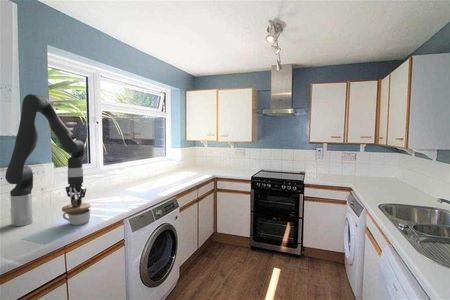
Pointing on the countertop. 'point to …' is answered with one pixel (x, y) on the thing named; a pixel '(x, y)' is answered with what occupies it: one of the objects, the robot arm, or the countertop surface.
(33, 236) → the mat
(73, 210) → the lid
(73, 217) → the teacup
